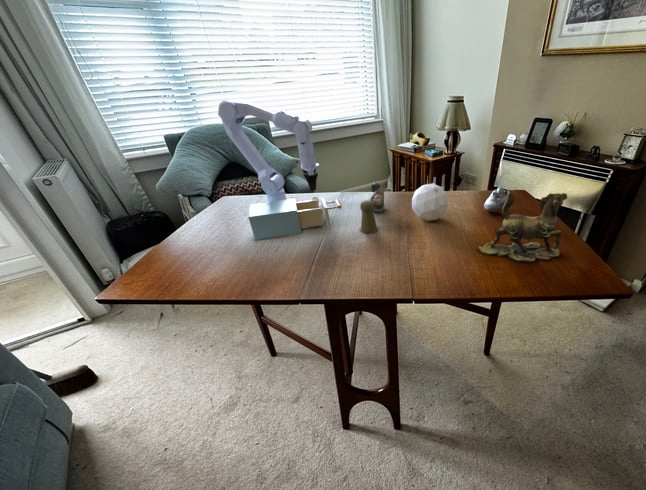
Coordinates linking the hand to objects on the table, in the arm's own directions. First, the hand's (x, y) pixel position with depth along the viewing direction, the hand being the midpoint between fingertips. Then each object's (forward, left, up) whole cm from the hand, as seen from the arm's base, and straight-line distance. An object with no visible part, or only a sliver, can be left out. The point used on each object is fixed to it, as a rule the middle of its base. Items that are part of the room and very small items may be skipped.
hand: (312, 188), depth 125 cm
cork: (+25, +17, -11) cm, 32 cm away
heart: (+29, +69, -11) cm, 75 cm away
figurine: (+58, +58, -11) cm, 82 cm away
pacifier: (0, 0, -11) cm, 11 cm away
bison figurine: (+7, +25, -11) cm, 28 cm away
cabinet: (+12, -16, -10) cm, 23 cm away
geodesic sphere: (+24, +42, -11) cm, 49 cm away
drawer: (+12, -2, -10) cm, 15 cm away
